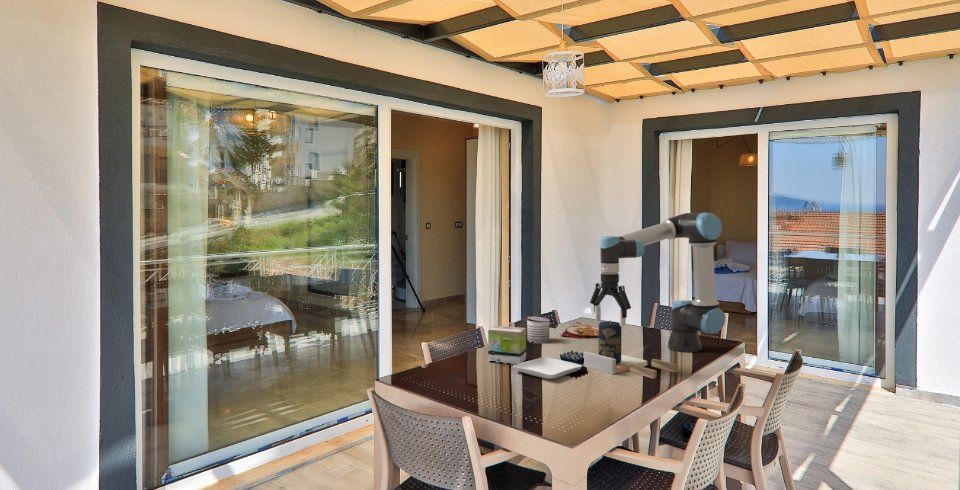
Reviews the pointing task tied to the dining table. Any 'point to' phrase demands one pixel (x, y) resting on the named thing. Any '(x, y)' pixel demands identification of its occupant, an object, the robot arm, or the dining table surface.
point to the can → (538, 329)
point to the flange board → (610, 363)
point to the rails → (653, 373)
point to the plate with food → (582, 332)
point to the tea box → (507, 344)
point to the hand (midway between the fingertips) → (610, 323)
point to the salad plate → (547, 367)
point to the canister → (610, 340)
